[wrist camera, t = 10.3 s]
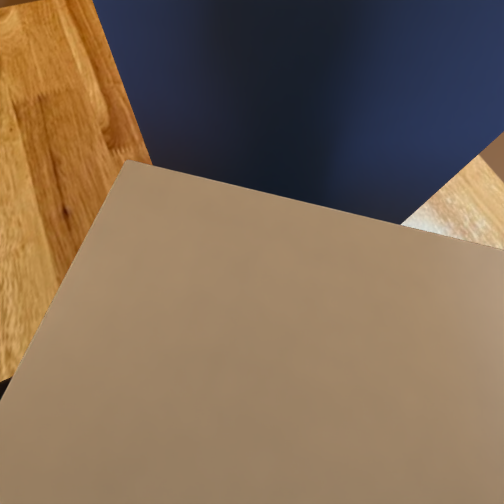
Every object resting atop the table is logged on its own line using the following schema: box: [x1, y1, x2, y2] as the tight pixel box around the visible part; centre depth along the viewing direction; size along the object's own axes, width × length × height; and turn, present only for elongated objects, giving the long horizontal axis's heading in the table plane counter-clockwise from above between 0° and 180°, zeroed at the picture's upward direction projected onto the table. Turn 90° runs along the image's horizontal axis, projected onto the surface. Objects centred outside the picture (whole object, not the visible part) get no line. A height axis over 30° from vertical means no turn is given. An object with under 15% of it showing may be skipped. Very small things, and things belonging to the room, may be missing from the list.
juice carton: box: [0, 160, 504, 504], centre depth 8 cm, size 5×5×13 cm
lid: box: [93, 0, 504, 225], centre depth 11 cm, size 14×13×4 cm
